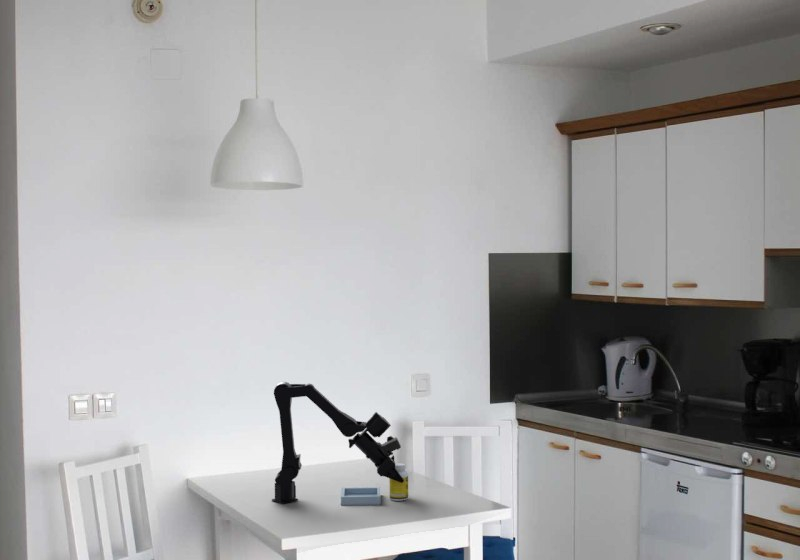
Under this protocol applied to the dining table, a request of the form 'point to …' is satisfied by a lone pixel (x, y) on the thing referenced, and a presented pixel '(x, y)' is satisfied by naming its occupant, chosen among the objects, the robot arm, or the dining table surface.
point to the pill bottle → (399, 485)
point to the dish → (360, 496)
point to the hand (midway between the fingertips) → (402, 479)
